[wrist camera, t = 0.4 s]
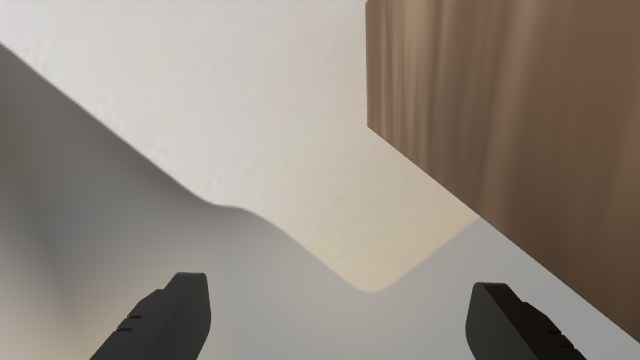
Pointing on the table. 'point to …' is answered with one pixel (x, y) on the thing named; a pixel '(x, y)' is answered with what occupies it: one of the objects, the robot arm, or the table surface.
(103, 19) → the table surface
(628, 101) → the wooden block
